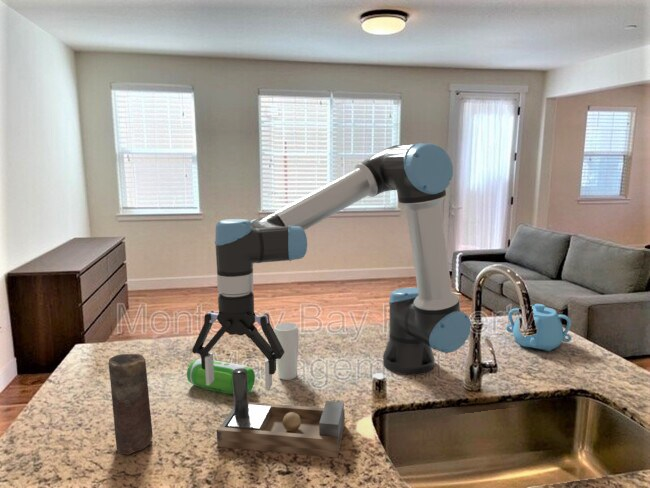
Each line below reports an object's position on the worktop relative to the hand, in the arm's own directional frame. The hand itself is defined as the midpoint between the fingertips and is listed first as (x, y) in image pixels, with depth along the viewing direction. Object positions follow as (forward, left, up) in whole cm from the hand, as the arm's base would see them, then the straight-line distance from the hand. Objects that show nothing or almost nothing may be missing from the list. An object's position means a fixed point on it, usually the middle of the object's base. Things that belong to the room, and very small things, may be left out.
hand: (239, 384), depth 101 cm
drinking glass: (-4, -28, -12) cm, 31 cm away
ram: (-2, 0, -10) cm, 10 cm away
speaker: (+12, -19, -12) cm, 25 cm away
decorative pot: (-80, -62, -12) cm, 102 cm away
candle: (+21, +8, -12) cm, 26 cm away
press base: (-10, 0, -12) cm, 15 cm away
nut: (-12, 0, -8) cm, 14 cm away
